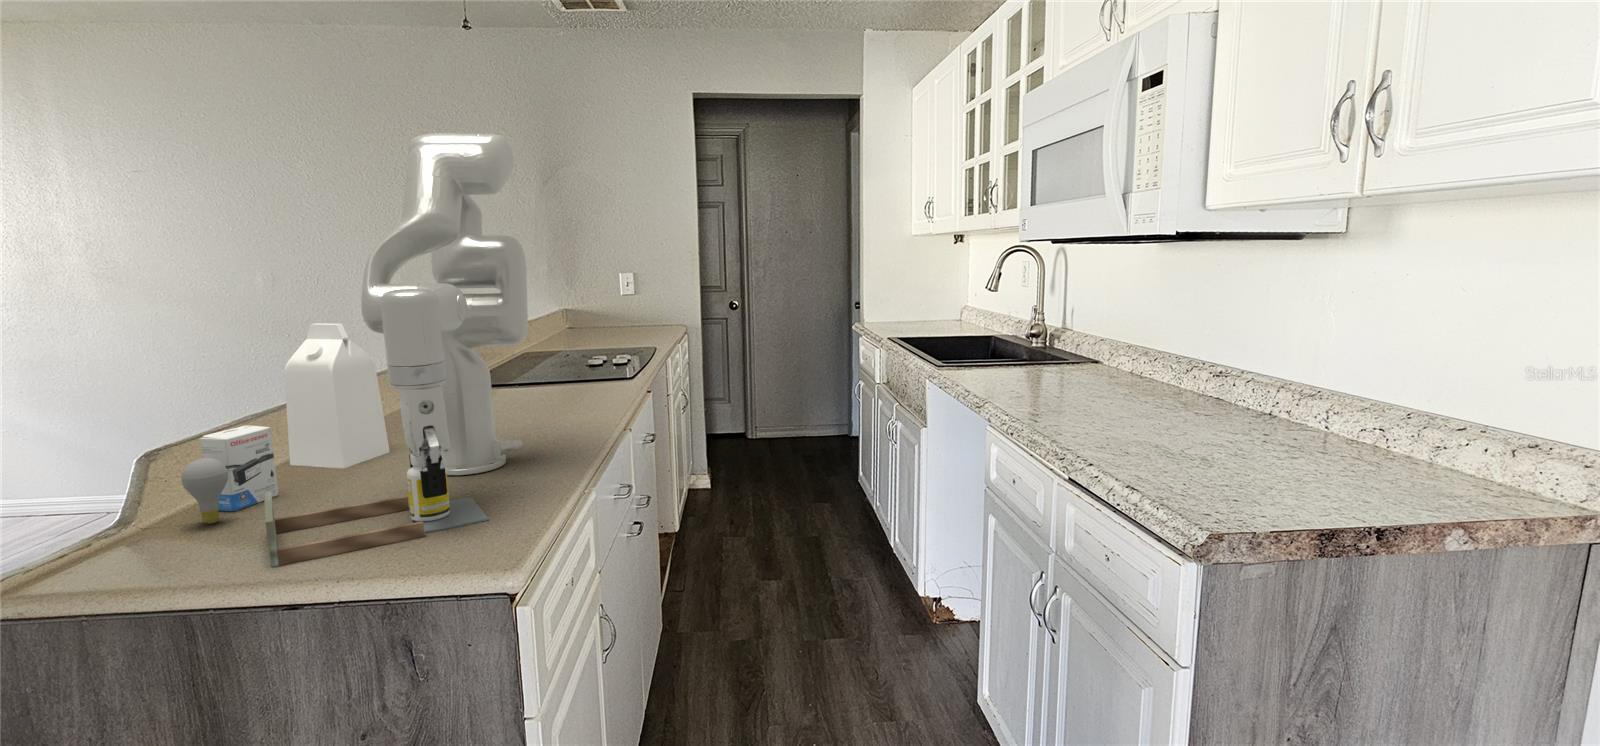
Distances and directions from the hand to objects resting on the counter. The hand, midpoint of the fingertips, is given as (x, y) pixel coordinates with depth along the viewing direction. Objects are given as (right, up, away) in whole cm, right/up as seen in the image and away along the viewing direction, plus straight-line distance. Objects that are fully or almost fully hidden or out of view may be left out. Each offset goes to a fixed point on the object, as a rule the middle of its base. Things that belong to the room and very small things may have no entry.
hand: (429, 486), depth 118 cm
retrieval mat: (+2, -5, +1) cm, 5 cm away
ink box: (-33, -4, +8) cm, 35 cm away
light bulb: (-32, -6, -1) cm, 32 cm away
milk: (-33, 0, +34) cm, 47 cm away
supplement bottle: (0, -5, 0) cm, 5 cm away
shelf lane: (-9, -6, -6) cm, 12 cm away
